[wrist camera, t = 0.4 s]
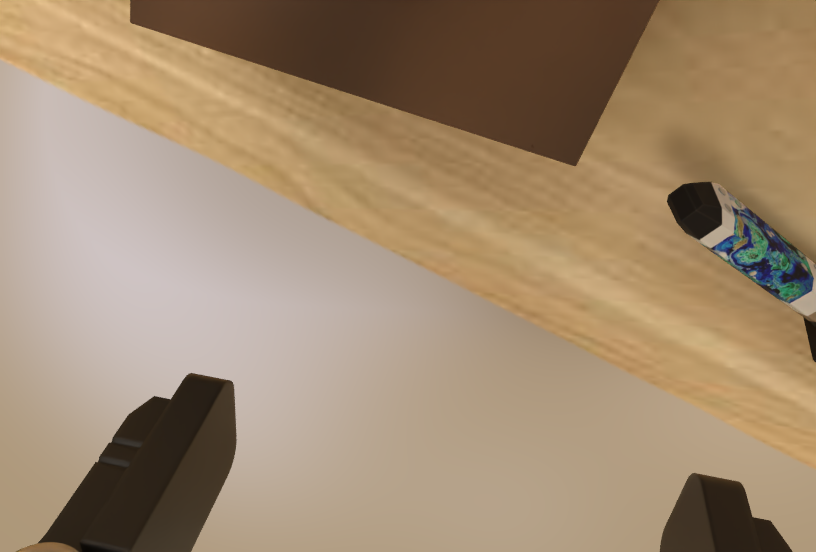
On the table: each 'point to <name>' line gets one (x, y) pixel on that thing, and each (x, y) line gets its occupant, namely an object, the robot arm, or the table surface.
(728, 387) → the table surface
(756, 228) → the knife
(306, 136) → the table surface
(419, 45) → the cabinet
